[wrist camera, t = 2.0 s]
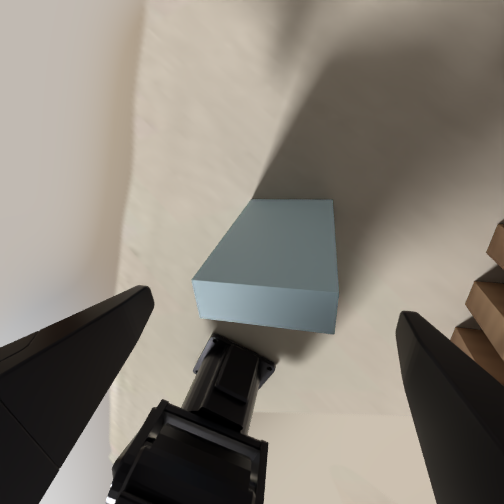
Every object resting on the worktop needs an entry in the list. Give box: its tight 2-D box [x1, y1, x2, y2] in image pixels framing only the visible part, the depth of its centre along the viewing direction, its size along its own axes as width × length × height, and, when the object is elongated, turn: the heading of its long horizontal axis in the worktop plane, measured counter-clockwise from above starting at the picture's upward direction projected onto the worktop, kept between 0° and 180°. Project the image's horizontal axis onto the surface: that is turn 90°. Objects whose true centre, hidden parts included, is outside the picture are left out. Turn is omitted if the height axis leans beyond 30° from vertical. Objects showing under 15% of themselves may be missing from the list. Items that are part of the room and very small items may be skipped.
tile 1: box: [192, 199, 339, 334], centre depth 13 cm, size 2×5×9 cm, turn 94°
